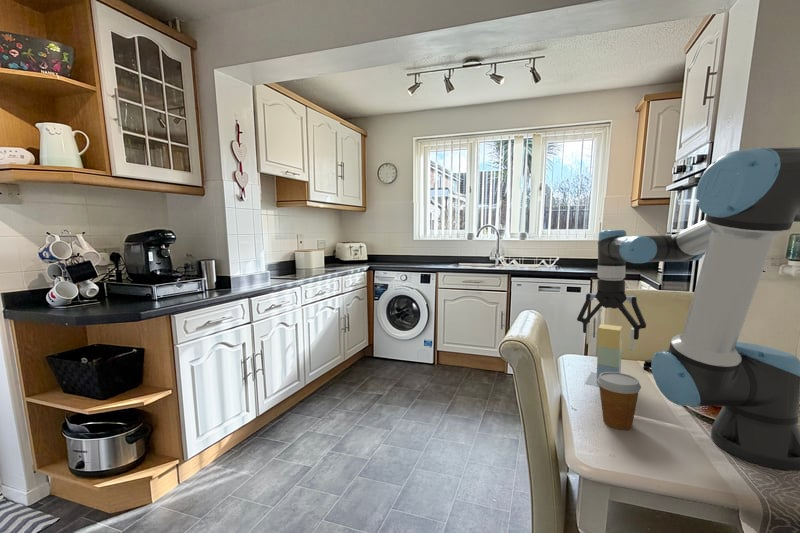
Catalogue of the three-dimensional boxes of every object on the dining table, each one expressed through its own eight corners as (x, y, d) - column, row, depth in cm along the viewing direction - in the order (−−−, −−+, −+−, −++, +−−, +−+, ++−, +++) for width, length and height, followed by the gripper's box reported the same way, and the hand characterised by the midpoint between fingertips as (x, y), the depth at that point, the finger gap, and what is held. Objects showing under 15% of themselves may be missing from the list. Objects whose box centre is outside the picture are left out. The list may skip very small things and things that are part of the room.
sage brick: (619, 368, 109) (619, 349, 109) (597, 364, 113) (597, 346, 112) (621, 362, 114) (621, 344, 113) (600, 359, 118) (600, 341, 117)
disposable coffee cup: (595, 411, 96) (596, 369, 95) (636, 418, 92) (637, 374, 91) (597, 428, 88) (598, 382, 87) (643, 437, 84) (644, 388, 83)
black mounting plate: (627, 370, 126) (628, 357, 126) (641, 367, 129) (641, 355, 129) (664, 383, 115) (665, 369, 114) (678, 379, 117) (679, 366, 117)
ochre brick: (619, 349, 109) (619, 330, 108) (597, 346, 112) (597, 327, 112) (621, 344, 113) (622, 326, 113) (600, 341, 117) (600, 324, 117)
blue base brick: (618, 387, 109) (618, 368, 109) (596, 382, 113) (597, 364, 113) (620, 380, 114) (620, 362, 114) (599, 376, 118) (599, 359, 117)
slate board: (629, 395, 105) (629, 393, 105) (584, 386, 113) (584, 383, 112) (632, 382, 115) (632, 379, 115) (591, 374, 122) (591, 372, 122)
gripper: (658, 279, 107) (655, 349, 108) (572, 276, 121) (571, 337, 123) (657, 282, 101) (655, 355, 102) (567, 278, 115) (566, 342, 117)
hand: (609, 346), depth 113 cm, fingers open, 11 cm apart
